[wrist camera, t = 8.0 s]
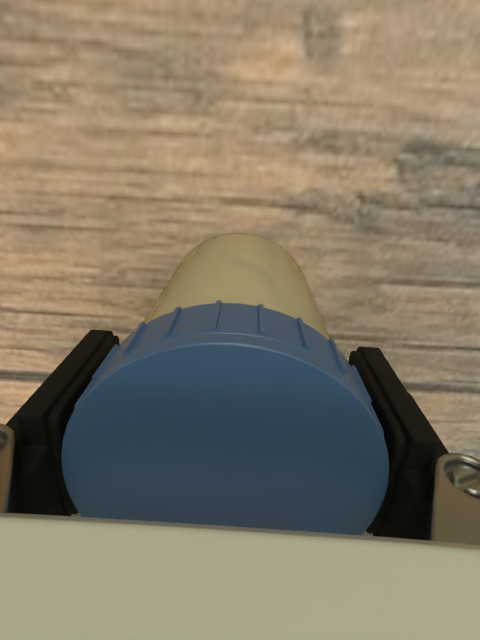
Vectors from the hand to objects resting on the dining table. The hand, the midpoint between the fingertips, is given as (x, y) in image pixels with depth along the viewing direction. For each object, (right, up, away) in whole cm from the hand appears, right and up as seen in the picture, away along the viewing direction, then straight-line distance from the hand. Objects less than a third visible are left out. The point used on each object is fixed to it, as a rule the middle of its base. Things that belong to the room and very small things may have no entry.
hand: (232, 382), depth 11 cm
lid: (0, -1, -3) cm, 3 cm away
